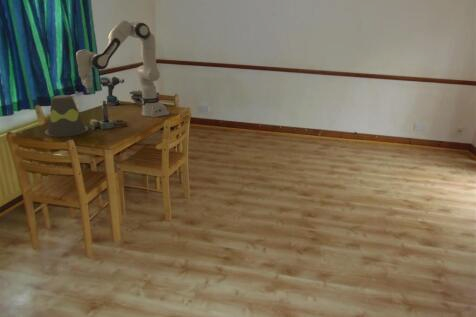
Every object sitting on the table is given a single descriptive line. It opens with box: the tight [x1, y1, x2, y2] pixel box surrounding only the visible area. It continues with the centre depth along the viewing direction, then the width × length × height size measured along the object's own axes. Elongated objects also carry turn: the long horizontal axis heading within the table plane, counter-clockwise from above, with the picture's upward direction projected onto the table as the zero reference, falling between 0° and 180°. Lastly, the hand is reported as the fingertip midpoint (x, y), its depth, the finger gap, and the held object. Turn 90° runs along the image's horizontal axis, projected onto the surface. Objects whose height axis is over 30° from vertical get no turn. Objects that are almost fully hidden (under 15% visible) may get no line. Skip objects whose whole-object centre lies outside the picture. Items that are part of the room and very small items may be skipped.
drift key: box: [89, 118, 100, 128], centre depth 266 cm, size 4×8×4 cm, turn 34°
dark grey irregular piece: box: [129, 90, 160, 106], centre depth 336 cm, size 25×8×11 cm, turn 79°
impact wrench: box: [99, 76, 125, 106], centre depth 327 cm, size 8×22×25 cm, turn 78°
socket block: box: [88, 119, 115, 131], centre depth 263 cm, size 15×8×4 cm, turn 124°
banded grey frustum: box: [44, 94, 89, 138], centre depth 251 cm, size 28×28×24 cm
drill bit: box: [102, 100, 110, 123], centre depth 262 cm, size 3×3×19 cm
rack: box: [112, 119, 128, 128], centre depth 270 cm, size 8×8×3 cm
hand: (88, 92), depth 267 cm, fingers closed
